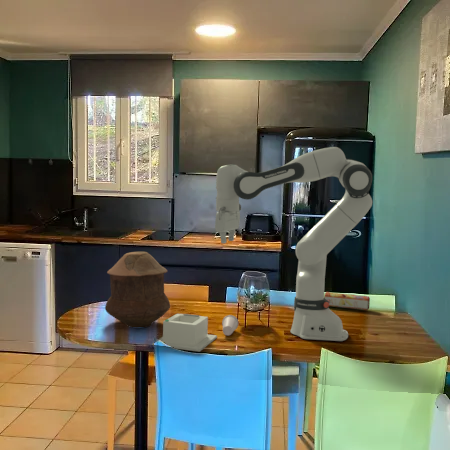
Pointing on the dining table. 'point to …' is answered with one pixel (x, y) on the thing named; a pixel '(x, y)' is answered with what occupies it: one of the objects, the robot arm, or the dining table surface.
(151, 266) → the pottery vessel
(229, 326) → the smoothie
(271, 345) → the dining table surface
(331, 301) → the snack package
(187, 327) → the socket dock
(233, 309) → the dining table surface
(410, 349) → the dining table surface
